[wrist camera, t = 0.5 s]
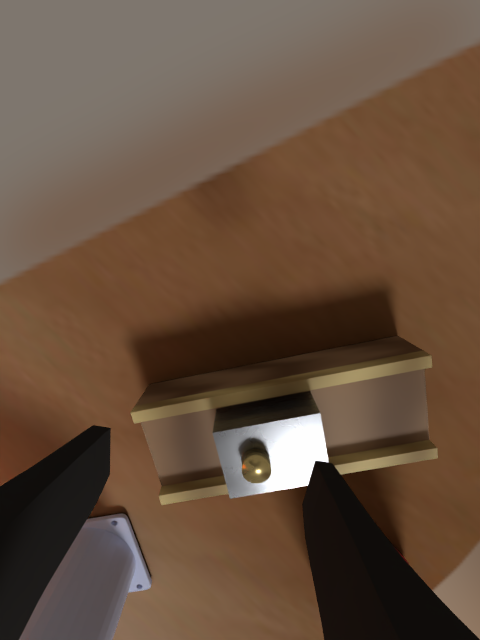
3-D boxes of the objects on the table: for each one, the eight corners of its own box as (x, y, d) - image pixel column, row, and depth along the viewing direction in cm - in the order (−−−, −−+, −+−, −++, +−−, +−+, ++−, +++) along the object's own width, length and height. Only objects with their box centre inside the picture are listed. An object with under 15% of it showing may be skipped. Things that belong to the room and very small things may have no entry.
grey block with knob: (231, 467, 20) (229, 510, 17) (216, 408, 19) (210, 442, 16) (320, 452, 20) (336, 492, 16) (310, 391, 18) (324, 421, 15)
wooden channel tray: (174, 464, 23) (161, 505, 20) (149, 384, 22) (130, 412, 18) (405, 423, 22) (437, 457, 19) (397, 335, 21) (431, 355, 17)
